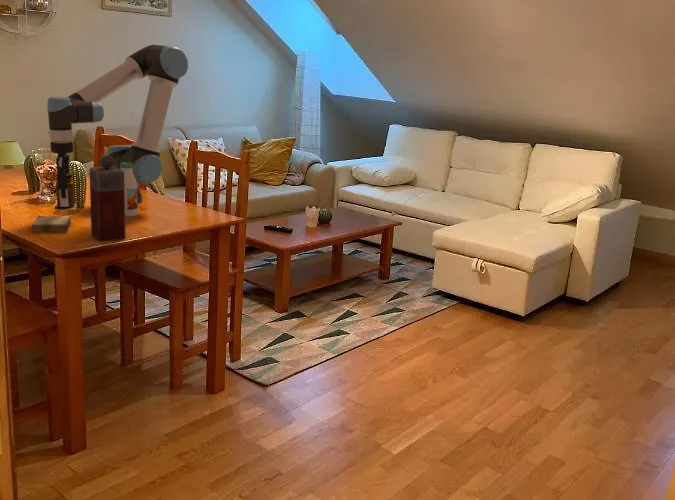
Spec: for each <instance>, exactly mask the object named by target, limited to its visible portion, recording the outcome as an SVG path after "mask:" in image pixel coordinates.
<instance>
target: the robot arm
mask: <svg viewBox="0 0 675 500" xmlns="http://www.w3.org/2000/svg"><path fill="white" fill-rule="evenodd" d="M124 60H125V61H124V62H123V63H121V64H119V65H117V66H116V67H114V68H113V69H111V70H110V71H107V72H106V73H104V74H103V75H101V76H99V77H98V78H96V79H95V80H93V81H91V82H90V83H88V84H86V85H85V86H83V87H82V88H80V89H78V90H77V91H75V92H72V94H71V93H70V95H68V96H50V97H48V98H47V111H46V112H47V117H48V125H49V126H48V129H49V131H47V134H48V135H49V139H50V142H49V143H50V145H49V146H50V151H51V153H52V154H57V157H56V158H55V162H56V170H57V171H56V172H57V173H56V176H58V187H57V189H59V193H60V207H68V206H69V203H68V189H67V179H66V173H68V174H71V172H70V171H71V170H70V169H71V168H70V155H69V154H71V153H73V152H74V143H73V139H74V137H73V136H74V135H73V125H74V124H87V123H88V124H89V123H92V124H95V123H99V122H102V121H103V119H104V116H105V111H104V108H103V105H102V103H100V102H101V101H103V100H105V99H106V98H108V97H110V96H111V95H112V94H115V93H116V92H118V91H120V90H121V89H122V88H124V87H126V86H127V85H128V84H131V83H132V82H134V81H135V80H142V79H144V78H145V77H148V79H149V81H150V84H149V88H148V91H147V96H146V100H145V104H144V108H143V112H142V115H141V121H140V124H139V128H138V133H137V137H136V140H135V141H134V142H132V143H131V144H124V145H123V144H119V145H110V146H109V147H108V149H107V153H106V155H109V156H111V157H112V158H113V159H114V164H113V166H115V167H117V168H118V169H120V170H121V167H120V164H121V163H122V162H130V163H133V174H134V177H135V179H136V181H137V188H138V204H140V203H142V202H143V193H142V191H141V188H140V185H139V183H140V184H151V183H154V182H156V181H157V180H158V179H159V178H160V176H161V175H162V173H163V170H164V169H163V167H164V166H163V162H162V160H161V159H160V158H161V153H162V152H161V150H160V149H159V146H160V145H159V144H160V141H161V136H162V132H163V128H164V125H165V122H166V117H167V113H168V109H169V105H170V101H171V97H172V93H173V89H174V88H176V87H177V86H178V85H179V82H180V78H183V76H185V75H187V71H188V69H189V60H188V58H187V56H186V54H185V52H184V51H183V50H182V49H181V48H178V47H176V46H172V45H161V44H160V45H159V44H150V45H147V46H144V47H142V48H141V49H138V50H137V51H135V52H134V53H132V54H130V55H129V56H127V57H125V59H124ZM113 166H112V167H113Z"/></svg>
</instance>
